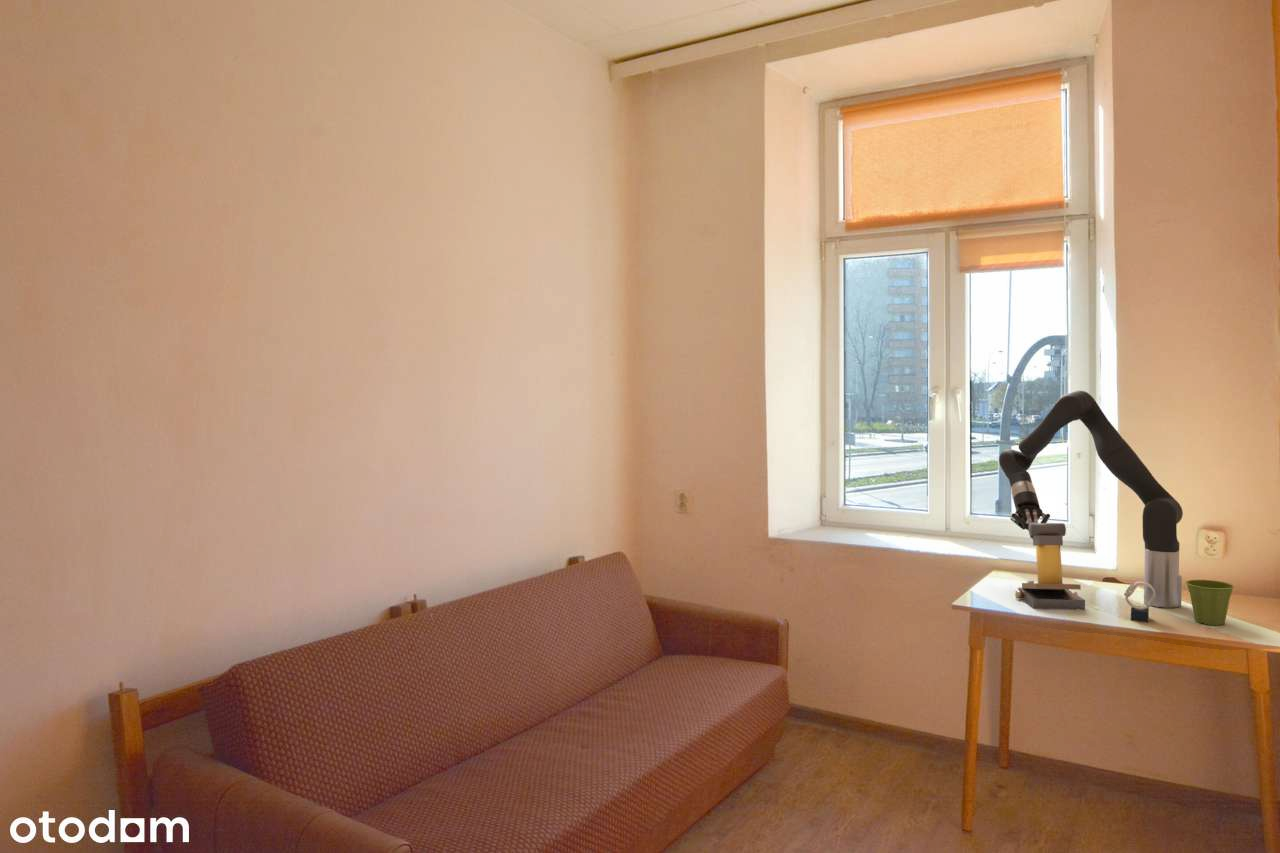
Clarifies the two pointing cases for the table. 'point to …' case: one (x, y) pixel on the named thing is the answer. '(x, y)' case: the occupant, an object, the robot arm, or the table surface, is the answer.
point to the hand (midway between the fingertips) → (1035, 538)
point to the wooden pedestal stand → (1048, 556)
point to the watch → (1137, 611)
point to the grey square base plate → (1051, 598)
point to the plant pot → (1210, 600)
